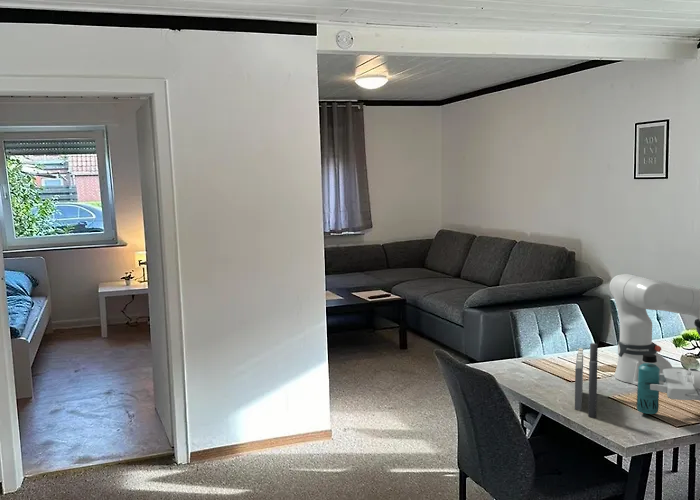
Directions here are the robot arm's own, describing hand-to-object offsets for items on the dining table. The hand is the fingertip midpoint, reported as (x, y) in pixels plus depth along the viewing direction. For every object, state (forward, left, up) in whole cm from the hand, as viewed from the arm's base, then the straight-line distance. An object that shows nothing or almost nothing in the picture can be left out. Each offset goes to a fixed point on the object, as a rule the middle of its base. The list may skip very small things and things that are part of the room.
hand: (648, 381), depth 200 cm
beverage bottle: (0, 0, -11) cm, 11 cm away
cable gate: (+16, -7, -11) cm, 20 cm away
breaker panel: (+20, -10, -11) cm, 25 cm away
